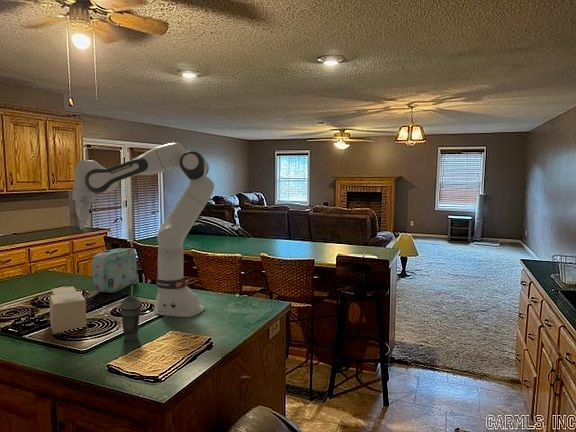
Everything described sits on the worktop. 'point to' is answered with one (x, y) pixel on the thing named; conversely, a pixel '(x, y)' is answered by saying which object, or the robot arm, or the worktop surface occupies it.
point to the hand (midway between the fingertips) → (80, 227)
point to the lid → (66, 296)
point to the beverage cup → (130, 316)
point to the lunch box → (114, 269)
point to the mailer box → (67, 316)
